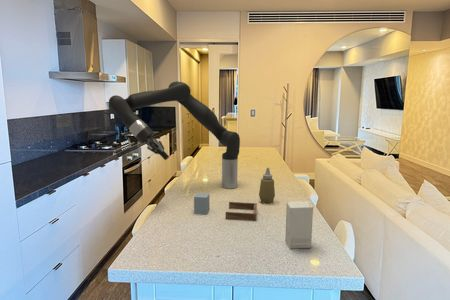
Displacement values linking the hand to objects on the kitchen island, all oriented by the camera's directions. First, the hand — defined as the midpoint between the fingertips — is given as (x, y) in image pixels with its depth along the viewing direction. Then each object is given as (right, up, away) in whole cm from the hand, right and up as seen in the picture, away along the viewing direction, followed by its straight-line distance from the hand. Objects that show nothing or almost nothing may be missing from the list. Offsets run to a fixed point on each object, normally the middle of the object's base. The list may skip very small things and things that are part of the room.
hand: (167, 158), depth 139 cm
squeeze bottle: (+48, -23, +14) cm, 55 cm away
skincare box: (+53, -31, -30) cm, 68 cm away
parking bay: (+34, -25, -2) cm, 42 cm away
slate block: (+16, -25, +1) cm, 30 cm away
